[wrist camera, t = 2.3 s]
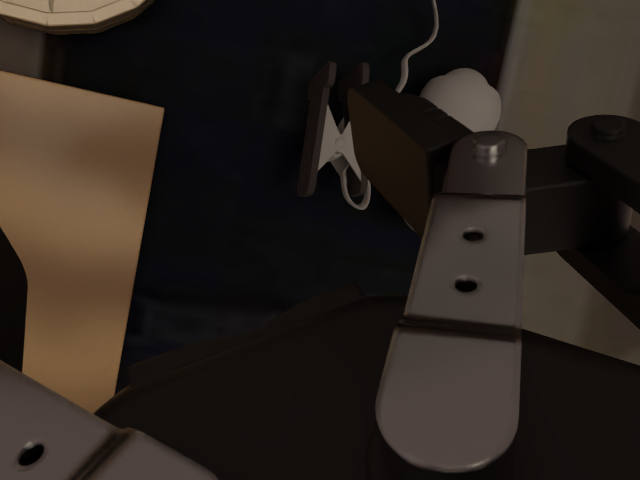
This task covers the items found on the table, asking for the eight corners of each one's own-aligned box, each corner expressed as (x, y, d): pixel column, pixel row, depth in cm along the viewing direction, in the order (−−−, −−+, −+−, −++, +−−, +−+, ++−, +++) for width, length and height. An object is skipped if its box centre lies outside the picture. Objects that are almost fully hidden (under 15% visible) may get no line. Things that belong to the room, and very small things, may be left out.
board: (-81, 51, 29) (-88, 50, 28) (163, 107, 33) (164, 107, 32) (-121, 418, 32) (-128, 427, 31) (107, 426, 36) (107, 435, 36)
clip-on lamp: (354, -73, 37) (272, 192, 35) (396, -136, 31) (300, 180, 29) (505, 4, 41) (438, 250, 39) (570, -40, 35) (494, 250, 33)
